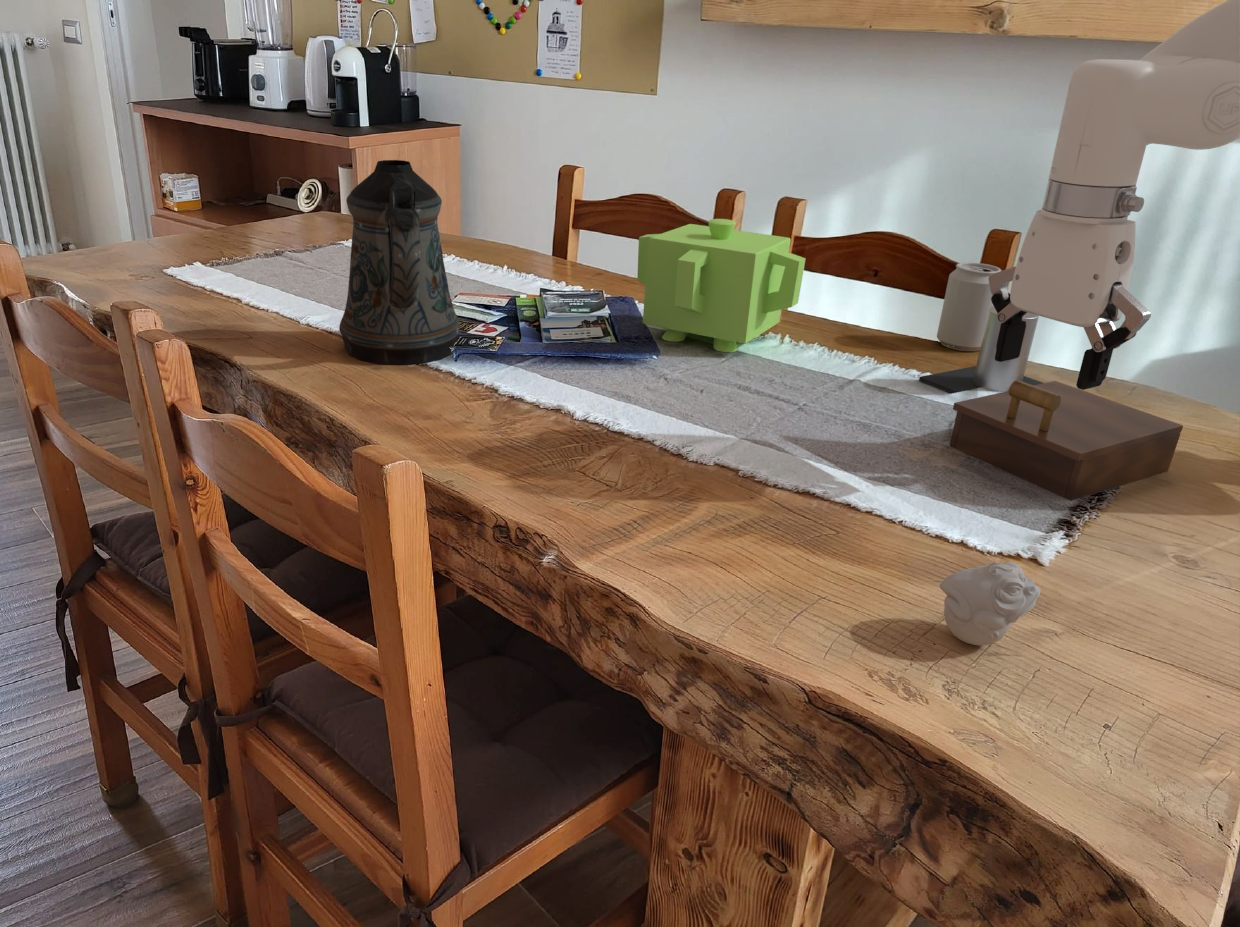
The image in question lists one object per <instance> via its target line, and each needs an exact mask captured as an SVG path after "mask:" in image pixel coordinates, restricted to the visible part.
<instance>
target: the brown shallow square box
mask: <svg viewBox="0 0 1240 927" xmlns="http://www.w3.org/2000/svg"><path fill="white" fill-rule="evenodd" d="M1181 433H1182V432H1180V433H1177V434H1173V435H1170V436H1166V437H1162V438H1159V439H1155V440H1152V441H1148V442H1144V443H1141V444H1137V445H1134V446H1130V447H1127V448H1123V449H1119V450H1116V451H1112V452H1109V453H1105V454H1101V455H1098V456H1094V457H1091V458H1087V459H1084V460H1080V461H1077V460H1074V459H1072V458H1070V457H1067V456H1065V455H1062V454H1060V453H1057V452H1055V451H1053V450H1050V449H1048V448H1045V447H1043V446H1040V445H1038V444H1036V443H1033V442H1031V441H1028V440H1026V439H1024V438H1021V437H1019V436H1016V435H1014V434H1011V433H1009V432H1007V431H1004V430H1002V429H999V428H997V427H994V426H992V425H990V424H987V423H985V422H982V421H980V420H977V419H975V418H973V417H970V416H968V415H965V414H963V413H960V412H958V411H956V414H955V419H954V423H953V428H952V432H951V436H950V441H949V448H953V449H955V450H956V451H959V452H960V453H961V452H962V453H964V454H966V455H968V456H970V457H973V458H975V459H977V460H980V461H982V462H984V463H986V464H988V465H990V466H992V467H995V468H998V469H999V470H1002V471H1004V472H1006V473H1008V474H1011V475H1012V476H1014V477H1017V478H1020V479H1021V480H1024V481H1026V482H1028V483H1030V484H1032V485H1035V486H1037V487H1039V488H1042V489H1044V490H1045V491H1048V492H1051V493H1053V494H1054V495H1057V496H1060V497H1062V498H1063V499H1066V500H1068V501H1070V502H1072V501H1075V500H1079V499H1082V498H1085V497H1089V496H1091V495H1095V494H1098V493H1102V492H1106V491H1108V490H1112V489H1115V488H1118V487H1121V486H1125V485H1128V484H1131V483H1136V482H1138V481H1142V480H1145V479H1149V478H1151V477H1154V476H1159V475H1161V474H1164V473H1168V471H1169V469H1170V466H1171V463H1172V461H1173V457H1174V454H1175V451H1176V448H1177V446H1178V442H1179V439H1180V436H1181Z"/></svg>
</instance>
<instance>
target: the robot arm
mask: <svg viewBox="0 0 1240 927" xmlns="http://www.w3.org/2000/svg"><path fill="white" fill-rule="evenodd" d="M1057 134H1058V135H1057V139H1056V143H1055V147H1054V152H1053V157H1052V160H1051V161H1052V162H1051V166H1050V171H1049V175H1048V178H1047V184H1046V189H1045V193H1044V197H1043V202H1042V208H1041V209H1038V210H1036V211H1035V214H1034V215H1033V218H1032V220H1031V222H1030V224H1029V227H1028V229H1027V232H1026V234H1025V237H1024V238H1023V242H1022V245H1021V248H1020V252H1019V255H1018V259H1017V262H1016V264H1015V266H1012V267H1009V268H1006V269H1003V270H1001V271H1000V272H997V273H994V274H991V275H990V276H989V278H988V280H989V285H990V290H991V294H992V295H993V296H992V298H991V301H992V304H993V306H994V308H995V310H996V311H997V313H998V314H997V321H998V322H999V323H1001V326H1000V331H999V336H998V340H997V345H996V349H997V350H996V354H995V360H996V361H999V362H1002V361H1007V360H1012V359H1016V358H1018V357H1019V356H1020V351H1021V347H1022V342H1023V338H1024V334H1025V329H1026V321H1022V318H1023V317H1024V316H1026V315H1027V314H1028V313H1031V314H1035V315H1038V316H1039V317H1042V318H1045V319H1049V320H1053V321H1056V322H1059V323H1064V324H1067V325H1071V326H1074V327H1079V328H1083V329H1084V332H1085V334H1086V336H1087V339H1088V341H1089V343H1090V346H1091V348H1088V349H1086V350H1085V351H1084V353H1083V357H1082V361H1081V364H1080V369H1079V372H1078V377H1077V381H1076V388H1077V389H1080V390H1083V391H1085V390H1088V389H1093V388H1097V387H1100V386H1101V385H1102V384H1103V382H1104V381H1105V379H1106V378H1107V374H1108V371H1109V367H1110V363H1111V359H1112V356H1113V353H1114V350H1115V349H1118V348H1120V347H1121V345H1123V344H1125V343H1127V342H1128V341H1130V340H1131V339H1133V338H1135V337H1136V335H1137V332H1139V331H1140V330H1141V329H1142V328H1143V327H1144V326H1145V325H1146V323H1148V322H1149V320H1150V319H1151V317H1152V313H1151V311H1150V310H1149V309H1148V308H1147V307H1146V306H1145V305H1144V304H1142V303H1141V302H1140V301H1139V300H1138V299H1137V298H1136V297H1135V296H1133V295H1132V293H1130V291H1129V289H1130V284H1131V280H1132V273H1133V267H1134V260H1135V251H1136V231H1137V230H1136V221H1135V220H1131V219H1128V218H1129V216H1130V215H1131V213H1132V212H1135V213H1139V212H1140V211H1141V210H1142V209H1143V207H1144V204H1145V198H1144V197H1142V196H1137V195H1136V192H1137V187H1138V186H1137V183H1138V179H1139V175H1140V171H1141V167H1142V164H1143V160H1144V156H1145V153H1146V148H1147V146H1148V145H1151V144H1153V145H1163V146H1170V147H1176V148H1182V149H1188V150H1195V151H1196V150H1197V151H1199V150H1200V151H1202V150H1211V149H1216V148H1220V147H1223V146H1226V145H1229V144H1231V143H1233V142H1234V141H1236V140H1238V139H1240V0H1226V1H1224V2H1222V3H1220V4H1218V5H1216V6H1215V7H1213V8H1211V9H1209V10H1208V11H1206V12H1204V13H1203V14H1201V15H1200V16H1198V17H1196V18H1195V19H1193V20H1191V21H1190V22H1188V23H1187V24H1186V25H1184V26H1183V27H1182V28H1180V29H1178V30H1177V31H1175V33H1174V34H1172V35H1170V36H1168V38H1166V39H1165V40H1164V41H1162V42H1160V43H1159V44H1158V45H1157V46H1156V47H1154V48H1153V49H1151V50H1150V51H1149V52H1147V53H1146V54H1145V55H1144V56H1142V57H1141V58H1140V59H1139V60H1137V59H1116V58H1114V59H1113V58H1112V59H1111V58H1110V59H1106V58H1101V59H1100V58H1099V59H1090V60H1086V61H1083V62H1081V63H1080V64H1079V65H1078V66H1077V67H1076V68H1075V69H1074V70H1073V72H1072V74H1071V77H1070V81H1069V84H1068V88H1067V93H1066V98H1065V102H1064V108H1063V111H1062V115H1061V120H1060V125H1059V129H1058V133H1057ZM1010 282H1011V285H1010V292H1009V291H1008V290H1009V283H1010ZM1123 315H1124V317H1125V318H1124V321H1123V322H1122V324H1121V325H1120V326H1119V327H1116V325H1115V323H1116V322H1118V321H1120V319H1121V318H1122V316H1123ZM1114 322H1115V323H1114Z"/></svg>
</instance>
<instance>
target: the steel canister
mask: <svg viewBox="0 0 1240 927" xmlns="http://www.w3.org/2000/svg"><path fill="white" fill-rule="evenodd" d="M997 314H998V313H997V311H996V310H995V308H994V307H991V308H990V309H989V312H988V317H987V321H986V326H985V330H984V334H983V339H982V343H981V347H980V350H979V352H978V357H977V361H976V365H975V366H976V369H975V373H974V378H973V383H974V385H976V386H977V387H980V388H979V389H981V388H982V389H985V390H988V391H993V392H998V393H1002V392H1006V391H1009V388H1010V386H1011V384H1012V383H1013V382H1014V381H1016V380H1019V381H1023V377H1024V376H1025V373H1026V369H1027V365H1028V361H1029V357H1030V353H1031V349H1032V345H1033V341H1034V337H1035V333H1036V330H1037V326H1038V322H1039V319H1040V316H1038V315H1035V314H1031V313H1028V314H1027V315H1026V316H1024V317H1023V318H1022V321H1026V329H1025V334H1024V338H1023V342H1022V347H1021V351H1020V356H1019V357H1018V358H1016V359H1012V360H1007V361H1002V362H999V361H996V360H995V354H996V350H997V349H996V345H997V340H998V336H999V331H1000V326H1001V323H999V322H998V321H997Z"/></svg>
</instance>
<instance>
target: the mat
mask: <svg viewBox="0 0 1240 927" xmlns="http://www.w3.org/2000/svg"><path fill="white" fill-rule="evenodd" d="M975 369H976V365H973V366H968V367H962V368H957V369H953V370H948V371H942V372H937V373H932V374H926V375H921V376H919V378H918V381H919V382H921V383H924V384H926V385H928V386H931V387H934V388H936V389H939V390H941V391H944V392H947V393H948V394H957V393H962V392H967V391H972V390H976V389H981V388H980V387H977V386H976V385H974V383H973V378H974V373H975ZM1022 382H1024V383H1027V384H1030V385H1033V386H1034V385H1038V384H1043V383H1044V382H1043V381H1040V380H1036V379H1034V378H1031V377H1029V376H1026V375H1024V377H1023V381H1022Z"/></svg>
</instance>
